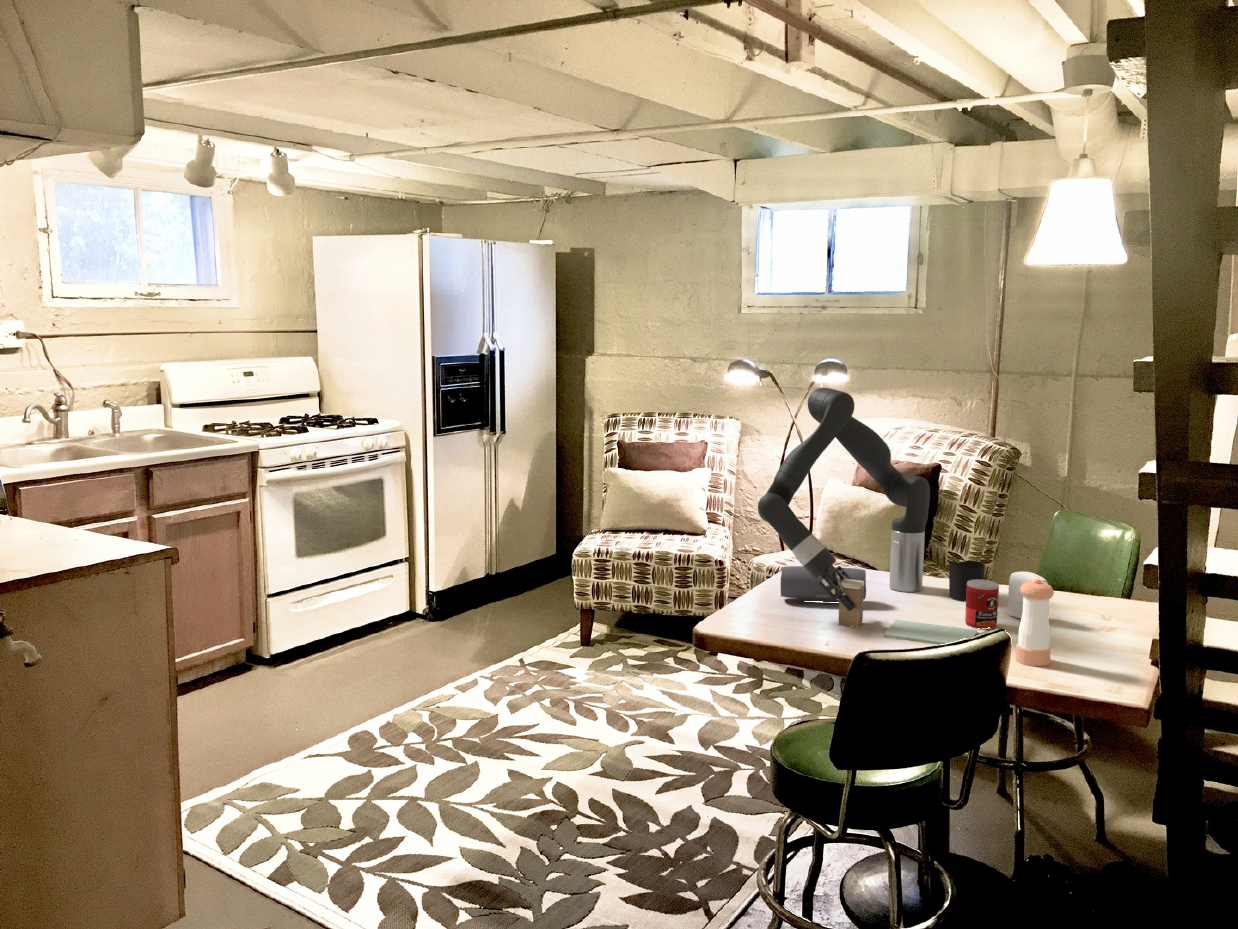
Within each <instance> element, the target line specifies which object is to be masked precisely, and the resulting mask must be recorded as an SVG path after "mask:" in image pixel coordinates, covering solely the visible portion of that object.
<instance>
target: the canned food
mask: <svg viewBox="0 0 1238 929" xmlns="http://www.w3.org/2000/svg"><path fill="white" fill-rule="evenodd" d="M999 586H1000V584H999V583H997V582H996V581H992V580H988V579H984V580H980V579H975V580H969V581H968V582H967V590H966V602H965V613H964V614H965V616H964V618H965V619H964V621H965V624H966V625H967V626H968V627H970V626H971V627H970V628H973V627H974V628H973V629H977V628H980V629H979V630H983V629H982V628H988V627H990V628H993V629H995V628H996V627H997V625H998V624H997V623H998V613H999V610H998V609H999V594H1000V593H999V591H1000V587H999Z"/></svg>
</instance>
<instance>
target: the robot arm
mask: <svg viewBox="0 0 1238 929" xmlns="http://www.w3.org/2000/svg"><path fill="white" fill-rule="evenodd" d="M855 407H856V406H855V401H854V398H853V396H852V395H851V394H849V393H848V392H845V391H843V390H837V389H833V388H829V387H819V388H816V389H814V390H813V391H811V393H810V394H809V397H808V398H807V409H808V413H809V414H810V416H811V418H813V419H814V421H816V422H817V423H818V424H819V425H818V427H817V428H816V429H815V430H814V431H813V433H812V434H810V436H808V438H806V439H805V440H804V441H802V442H801V443H800V444H798V445H797V446H796V447H795V448H793V449H792V450H791V451H790V452H789V454H787V456H786V458H784V460H783V462H782V464H781V465H780V467H779V469H778V470H777V472H776V473H775V476H774V478H773V482H772V483H771V485H770V486H769V488H768V490H767V491H766V493H765V494H764V495H763V496H761V497H760V499H759V501H758V503H757V512H758V516H759V518H761V519H762V520H763V521H764V522H766V523H768V524H769V525H770V527H772V529H774V530H775V532H776V533H777V535H778V536H779V538H780V539H781V541H782V542H783V543H784V545H786V547H787V548H788V549H789V550H790V551H791V552H792V554H793V555H794V557H795V558H796V560H797V561H798V562H799V563H800V564H801V566H804V568H805V569H806V570H807V571H808V572H809V573H810V574H811V576H812V577H813V578H817V577H818V576H819V575H820V576H821V578H822V580H821V581H820V582H819V583H820V585H821V586H822V587H823V588H824V589H825V590H826V591H827V592H828V594H829V595H830V596H831V597H832V598H833V599H834V600H836V599H837V600H838V601H839V600H840V601H841V603H842V604H843V605H844V606H845V607H846V608H847V609H848V611H851V610H852V609H854V608H855V607H856V605H855V604H854V602H853V601H852V600H851V599H850V598H849V597H848V596H847V595H846V593H845V591H844V590H843V584H842V581H843V580H844V579H851V578H850V577H849V576H848V574H847V573H846V572H845V571H844V570H843V569H842V568H841V567H842V566H840V565H838V566H834V564H835V563H836V562H837V559H836V558H835V556H834V555H833V554H832V553H831V551H829V549H828V548H827V547H826V546H825V545H824V544H823V543H822V542H821V541H820V540H819V538H817V537H816V536H815V535H814V534H813V533H812V532H811V531H810V530H809V529H808V527H807V526H806V525H805V524H804V523H803V522H802V521H801V520H800V519H799V518H798V517H797V515H796V513H794V512H793V510H792V508H791V507H790V506H789V505H790V504H791V501H792V500H793V498H794V496H795V494H796V492H797V491H798V490H799V489H800V487H801V485H802V484H803V482H804V481H805V479H806V477H807V476H808V475H809V472H810V471H811V469H812V467H813V466H814V465H815V463H816V462H817V461H818V459H819V457H820V456H821V455H822V454H823V453H824V452H825V450H826V449H827V448H828V447H829V446H830V444H831V443H832V442H833V441H834V440H835V438H836V440H837V441H838V442H839V443H840V444H841V446H842V447H843V448H844V449H845V450H846V451H847V452H848V454H850V456H851V457H852V458H853V459H854V460H855V462H857V463H858V465H860V466H861V468H863V469H864V471H866V472H867V473H868V475H870V477H871V478H872V479H873V480H874V481H875V482H876V484H877V485H878V486H879V487H880V489H881V491H882V492H883V494H884V495H885V496H886V498H887V499H888V500H889V501H890V502H891V503H892V504H894V505H895V506H899V507H905V508H906V509H905V514H904V515H903V516H901V517H896V518H894V519H893V520H892V522H891V532H890V534H891V538H890V540H891V542H890V559H889V560H890V563H889V589H890V590H891V589H892V590H894V591H898V592H907V593H908V592H909V593H915V592H920V591H922V590H923V577H924V556H925V554H924V553H925V534H926V533H925V532H926V525H927V522H928V518H929V508H930V498H931V487H930V484H929V482H928V481H929V480H927V478H925V477H923V476H919V475H918V476H917V475H913V474H906V473H902V472H900V471H899V470H898V469H897V468H895V466H894V465H893V464H892V463H891V462H892V453H891V449H890V447H889V445H888V444H887V443H886V441H885V440H884V439H883V438H882V437H881V436H880V435H879V434H878V433H877V432H876V431H875V430H874V429H872V428H871V427H869V426H868V425H867V424H865V423H863V422H862V421H859V420H858V419H857V418H855V417H853V414H854V412H855ZM835 567H837V568H835ZM851 580H852V579H851Z"/></svg>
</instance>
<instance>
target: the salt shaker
mask: <svg viewBox="0 0 1238 929" xmlns="http://www.w3.org/2000/svg"><path fill="white" fill-rule="evenodd" d="M1020 592H1021V594H1022V595H1023V596H1024V598H1023V613H1022V618H1021V619H1020V623H1019V628H1018V641H1017V643H1016V647H1015V660H1016V662H1018V663H1019V662H1020V664H1022V665H1025V666H1029V667H1030V666H1031V667H1047V666H1050V665H1051V653H1052V652H1051V646H1050V639H1051V628H1050V626H1051V625H1050V618H1049V615H1050V614H1049V613H1050V599H1052V598H1053V596H1054V593H1055V592H1054V589H1053V587H1052V586H1051V585H1050V584H1049V583H1048V584H1046V583H1044V582H1041V580H1040V579H1034V581H1029V582H1026V583H1024V584H1023V585H1022V586H1021V588H1020Z"/></svg>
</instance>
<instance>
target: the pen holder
mask: <svg viewBox="0 0 1238 929" xmlns="http://www.w3.org/2000/svg"><path fill="white" fill-rule="evenodd" d="M948 565H949V566H948V567H949V568H948V569H949V570H948V571H949V572H948V575H949V579H948V581H949V582H948V584H949V586H948V588H949V590H948V594H949V598H950V599H952V600H955V601H957V602H964V601H966V590H967V582H968V581H969V580H975V579H980V580H985V571H986V570H985V568H986V564H985V562H982V561H979V560H972V559H968V560H964V561H963V560H962V561H960V562H959V561H958V562H955V561H953V560H950V561H949V564H948Z"/></svg>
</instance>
